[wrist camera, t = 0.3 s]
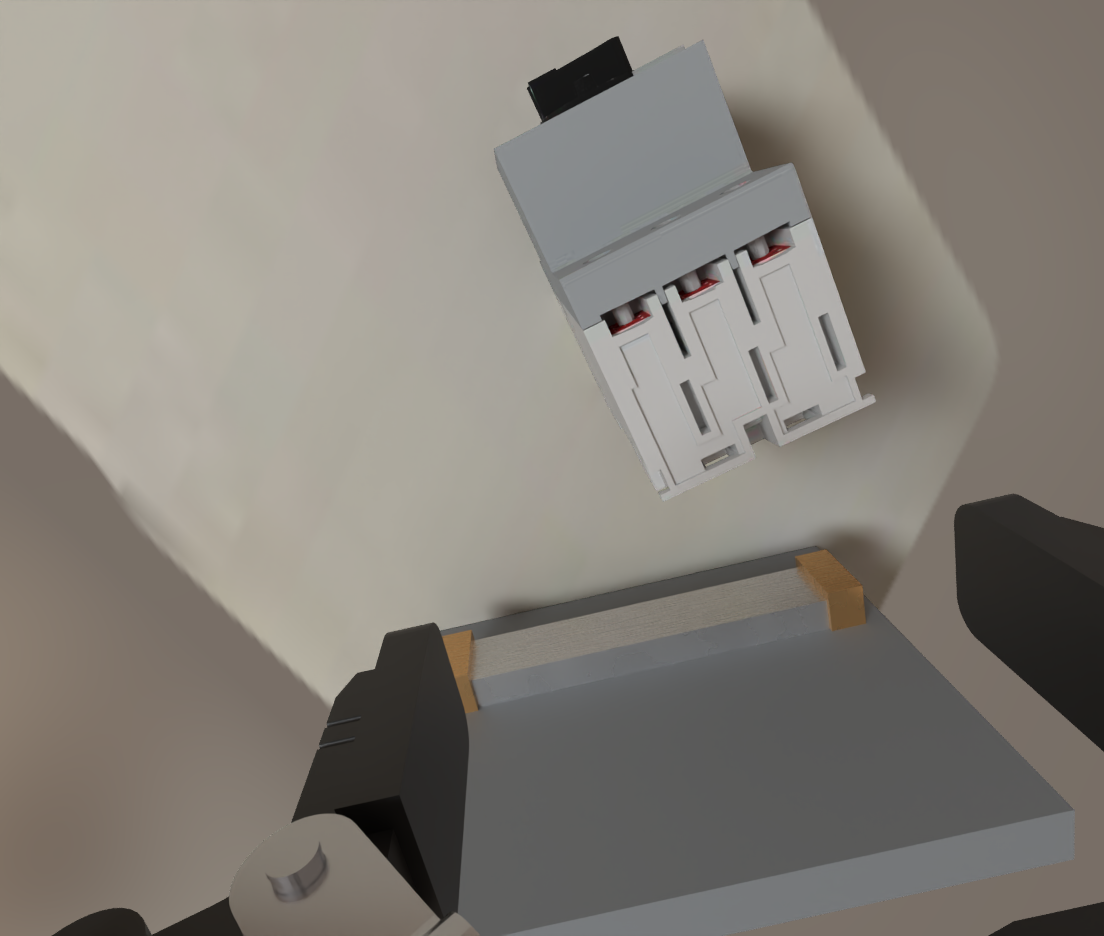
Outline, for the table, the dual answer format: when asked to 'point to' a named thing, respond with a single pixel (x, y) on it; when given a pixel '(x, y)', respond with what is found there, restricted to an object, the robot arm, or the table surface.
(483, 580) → the table surface
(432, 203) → the table surface
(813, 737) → the mounting panel
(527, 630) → the din rail
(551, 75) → the circuit breaker
